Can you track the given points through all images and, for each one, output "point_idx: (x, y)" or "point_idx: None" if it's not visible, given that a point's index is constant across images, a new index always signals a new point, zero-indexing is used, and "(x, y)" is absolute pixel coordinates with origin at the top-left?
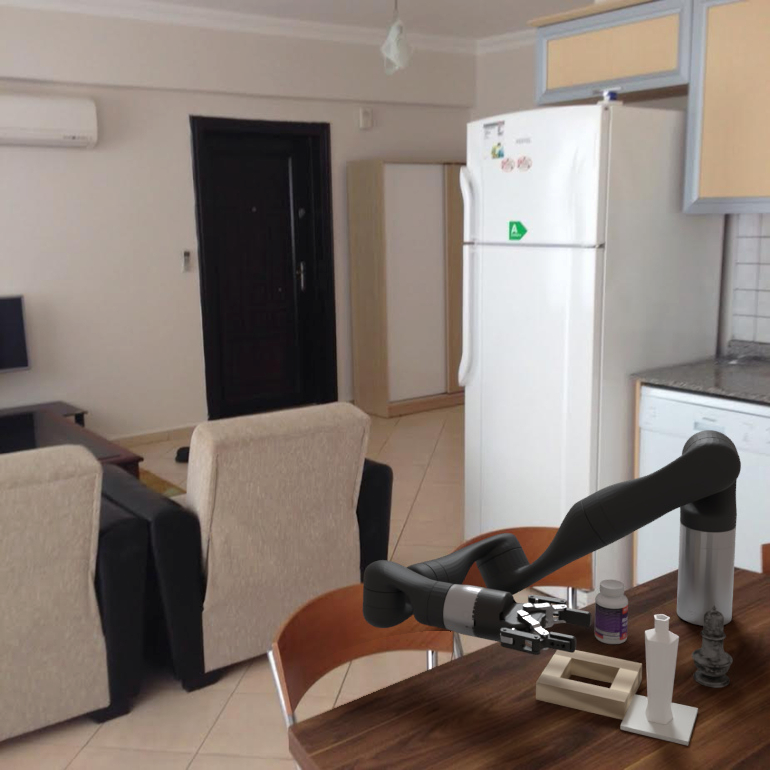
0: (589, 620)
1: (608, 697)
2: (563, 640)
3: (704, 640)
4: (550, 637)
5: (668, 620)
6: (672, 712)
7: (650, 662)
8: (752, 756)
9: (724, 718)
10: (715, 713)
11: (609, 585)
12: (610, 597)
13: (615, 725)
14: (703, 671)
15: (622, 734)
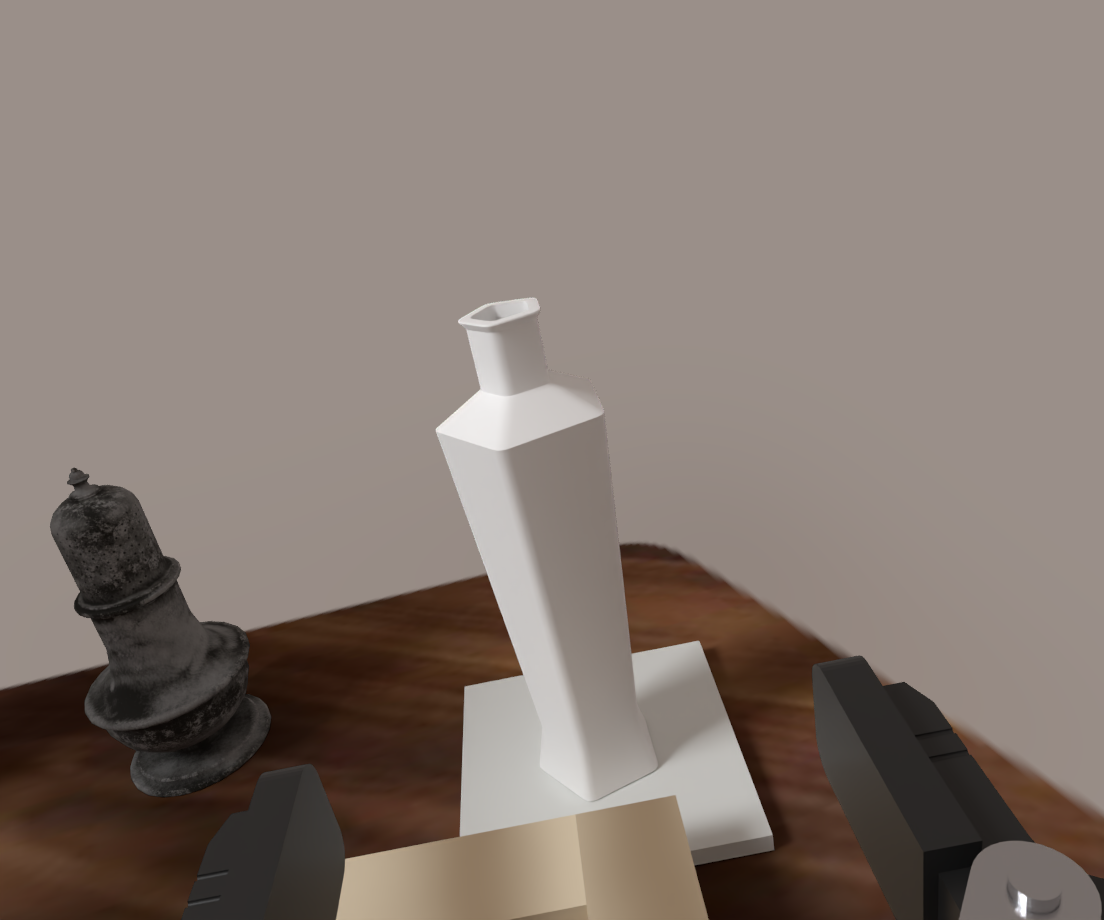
0: (328, 803)
1: (686, 870)
2: (927, 727)
3: (154, 615)
4: (993, 843)
5: (499, 314)
6: (537, 731)
7: (615, 521)
8: (637, 553)
9: (471, 642)
10: (451, 665)
11: None
12: None
13: (757, 882)
14: (233, 706)
15: (804, 829)
